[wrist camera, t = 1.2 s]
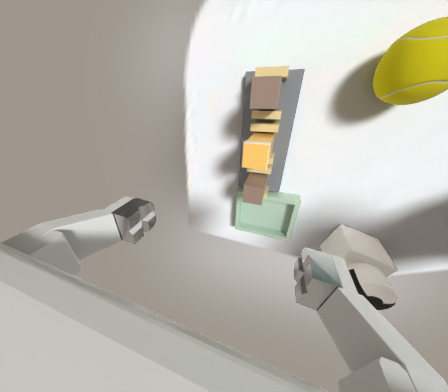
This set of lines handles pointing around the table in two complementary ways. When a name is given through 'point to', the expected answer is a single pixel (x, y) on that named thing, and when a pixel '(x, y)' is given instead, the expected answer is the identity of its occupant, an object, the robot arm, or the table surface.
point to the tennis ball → (414, 65)
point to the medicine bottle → (364, 264)
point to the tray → (268, 215)
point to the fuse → (258, 150)
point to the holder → (268, 125)
